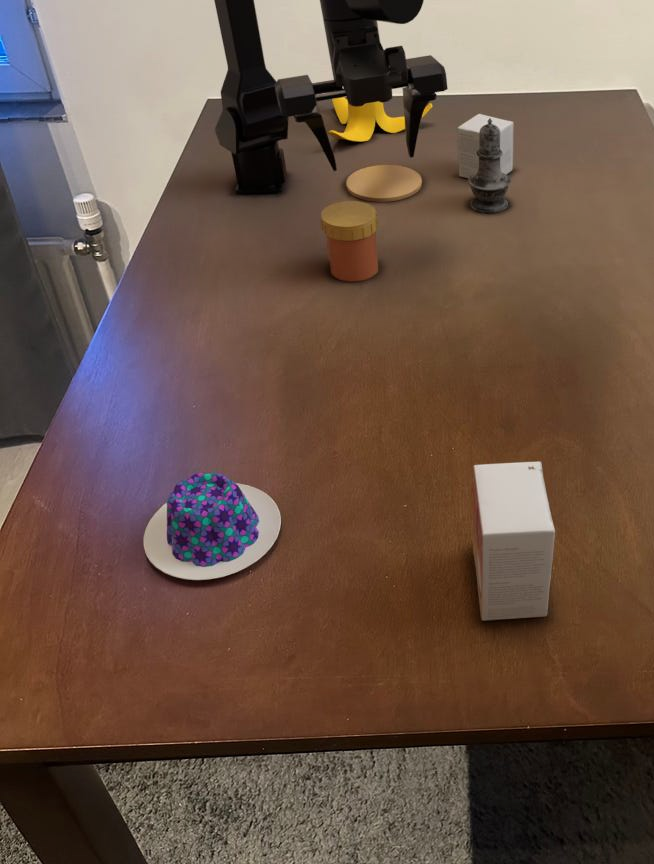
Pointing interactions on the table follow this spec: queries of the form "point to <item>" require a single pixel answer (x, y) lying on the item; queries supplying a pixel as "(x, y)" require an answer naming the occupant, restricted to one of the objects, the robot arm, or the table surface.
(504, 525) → the small box
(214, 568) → the pudding
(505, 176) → the grey tall turned piece
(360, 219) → the jar lid
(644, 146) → the table surface
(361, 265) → the jar
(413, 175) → the coaster
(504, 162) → the product box
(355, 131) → the banana peel
